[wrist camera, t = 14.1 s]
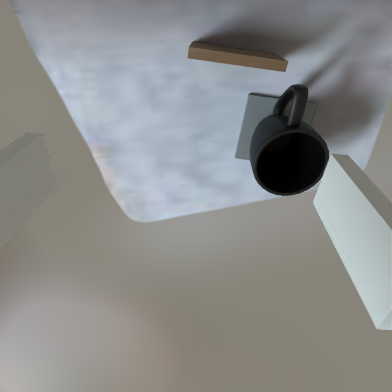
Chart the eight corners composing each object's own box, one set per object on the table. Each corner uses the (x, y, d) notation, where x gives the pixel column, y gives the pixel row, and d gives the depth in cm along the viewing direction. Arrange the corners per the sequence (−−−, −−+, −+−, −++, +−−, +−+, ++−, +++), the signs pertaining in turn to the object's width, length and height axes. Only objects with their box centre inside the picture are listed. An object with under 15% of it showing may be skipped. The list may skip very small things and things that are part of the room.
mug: (318, 73, 34) (352, 91, 26) (296, 162, 40) (318, 197, 32) (251, 71, 34) (264, 88, 26) (240, 160, 41) (248, 194, 33)
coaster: (248, 93, 36) (249, 94, 35) (315, 103, 36) (317, 104, 36) (235, 156, 41) (235, 158, 40) (294, 164, 41) (295, 165, 41)
